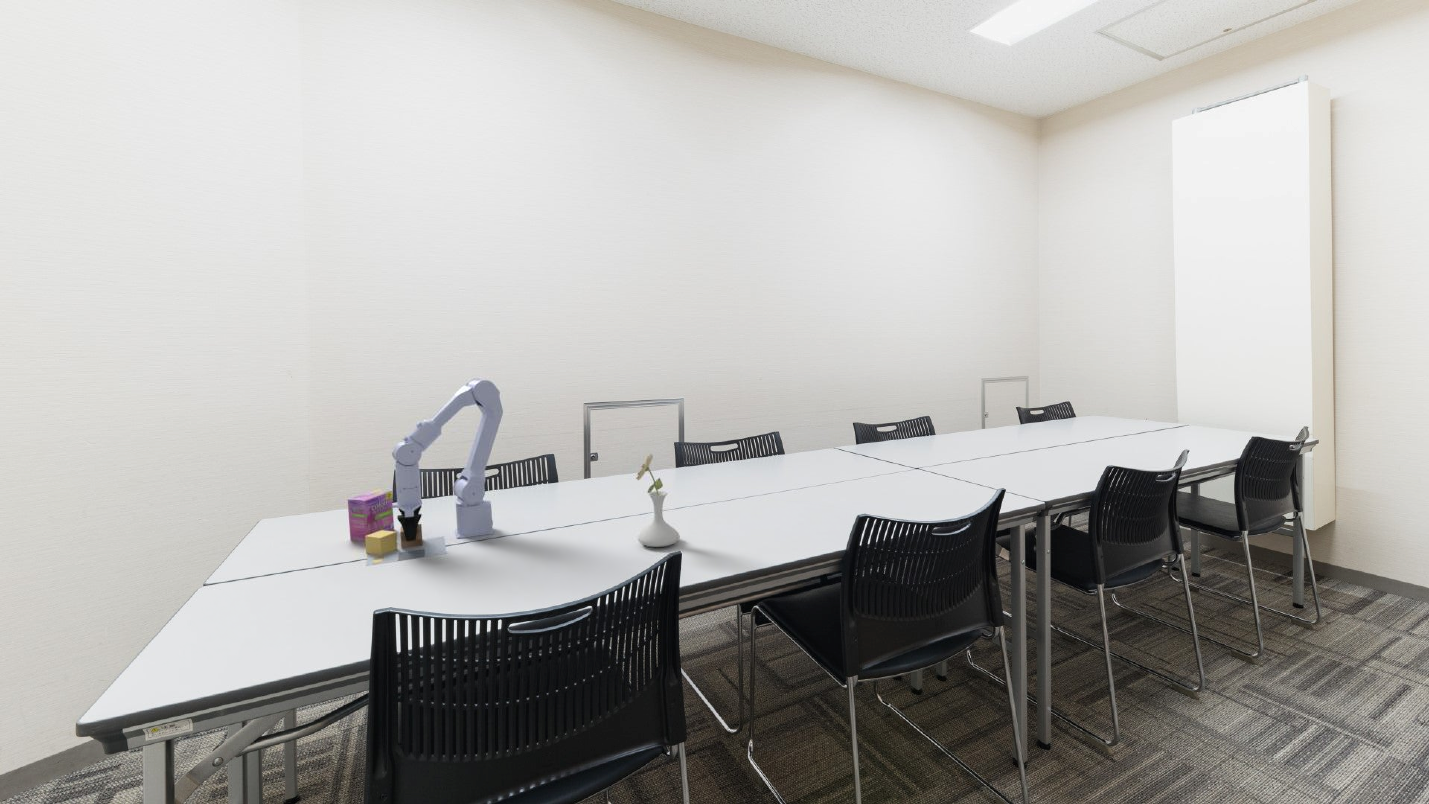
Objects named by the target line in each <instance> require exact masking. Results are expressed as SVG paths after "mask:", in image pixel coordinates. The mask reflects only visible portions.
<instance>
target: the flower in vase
mask: <svg viewBox="0 0 1429 804" xmlns="http://www.w3.org/2000/svg"><path fill="white" fill-rule="evenodd" d="M653 457H654V455H652V453H651V454H649V455H647V457H646V460H645V463H642V465H641V468H640V470H639V471H638V472H637V474H636V477H635V479H636V480H637V481H640V480H641V479H642V477H643V476H644V475H645V473H646V472H648V473H649V474H650V476H651V478H652V480H653V483H652V484H651V485H650V486H649V488H648V490H647V492H646V493H647V494H648V496H649V497H650V498H651V501H652V503H653V519H652V521H651V522H650V523H649V524H648V525H646V527H644V528H643V529H642V530H641V531H640V532H639V534H638V535H637V538H636V539H637V541H638V542H639V543H640V544H642V545H644V546H647V547H652V548H653V547H655V548H659V547H660V548H661V547H667V546H671V545H673V544H675V543H677V542H678V541H679V540H680V538H681V536H680V533H679V532H678V531H677V530H676V529H675V528H674V527H672V525H670V524H669V523H668V522H666V521H665V520H664V516H663V507H664V506H663V505H664V501H665V498H666V496H667V495H668V492H666V491H663V490H660V489H661V488H663V486H664V484H663V481H662V480H661V478H660V477H658V479H656V480H655V478H654V475H653V472H652V471H651V470H650V464H651V462H652V461H653ZM654 489H655V490H654ZM653 490H654V491H653Z"/></svg>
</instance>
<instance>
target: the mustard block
mask: <svg viewBox="0 0 1429 804" xmlns="http://www.w3.org/2000/svg"><path fill="white" fill-rule="evenodd" d="M365 540H366V541H365V552H366V554H369V553H370V554H377V555H383V554H385V553H388V552H390V551H392V550H395V549H397V543H398V538H397V531H393V530H392V531H385V530H381V531H378V532H375V533H372V534H370V535H367V536H365Z"/></svg>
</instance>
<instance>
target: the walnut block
mask: <svg viewBox="0 0 1429 804" xmlns="http://www.w3.org/2000/svg"><path fill="white" fill-rule="evenodd" d="M399 533H400V542H401V548H408V547H415V546H422V539H423V528H422V523H418V527H417V535H416V540H413V541H407V540H406V538H405V534H404V530H403V527H402V526H400V532H399Z"/></svg>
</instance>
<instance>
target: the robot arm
mask: <svg viewBox="0 0 1429 804" xmlns="http://www.w3.org/2000/svg"><path fill="white" fill-rule="evenodd" d="M500 396H501V391H500V390H499V389H498V387H497V386H496V385H495V383H493V382H492V381H490V380H486V379H480V378H472V379H470V380H468V381H467V382H466V384H465V385H463V386H462V387H460V388H459V390H457V391H456V392H455V393H454V395H453V396H452V397H451V398H450V399H449V400H448V401H447V402H446V403H445V404H444V405H443V407H441V408H440V410H439V411H438V412H437V413H436V414H435V415H434V416H433V417H432V418H430V419H423V421H418V422H417V423H416V425H415V426H416V428H414V429H413V430H412V431H411V432H410V433H409V434H408V435H407V436H404V437H402V440H403V441H402V442H398V443H397V444H396V445H395V446H394V448H393V451H391V455H392V457H393V459H394V460H395V464H394V465H395V467H394V468H395V470H394V472H395V485H396V486H395V487H396V503H393V504H392V507H393V509H395V508H396V509H398V511H399V513H400V514H399V515H398V514H397V521H398V522H399V523H400V525H401V527H403V530H404V534H405V538H406V540H407V541H413V540H416V535H417V527H418V524H420V520H421V518H422V517H423V514H422V513H420V511H421V509H422V505H423V501H422V492H421V490H422V489H421V488H422V487H421V476H420V467H419V466H420V465H419V461H420V460H421V459H422V453H424V452H425V451H426V450H427V449H428V448H429V447H430V446H431V445H432V444H433V443H434V442H435V441H436V440H437V439H438V438H439V436H441V435H442V428H443V427H444V426H445V425H446V423H448V422H449V421H450V420H452V419H453V417H454V416H456V415H457V413H458V412H460V410H462V409H463V408H465V407H470V406H472V405H473V406H474V405H476V406H477V407H478V409H479V410H480V413H481V414H482V416H481V418H480V422H479V426H478V427H477V432H476V434H475V437H474V441H473V444H472V447H471V450H470V453H469V456H468V459H467V462H466V466H465V467H464V468H463V469H462V471H461V473H460V476H459V477H458V478H457V479H456V481H455V482H454V484H453V487H452V491H453V493H454V496H456V497H457V499H456V501H455V515H456V529H455V530H454V532H455V537H456V539H458V540H459V539H465V538H472V537H477V536H487V535H492V534H493V533H494V532H493V525H494V521H493V515H492V514H493V513H492V511H493V510H492V503H491V500H484V497H485V493H486V490H485V483H486V474H485V471H486V469H487V465H488V462H489V459H490V455H491V453H492V449H493V446H494V443H495V439H496V436H497V433H498V432H499V431H498V430H499V427H500V424H501V421H502V418H503V415H504V414H503V413H504V410H503V406H502V400H501V397H500Z"/></svg>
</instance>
